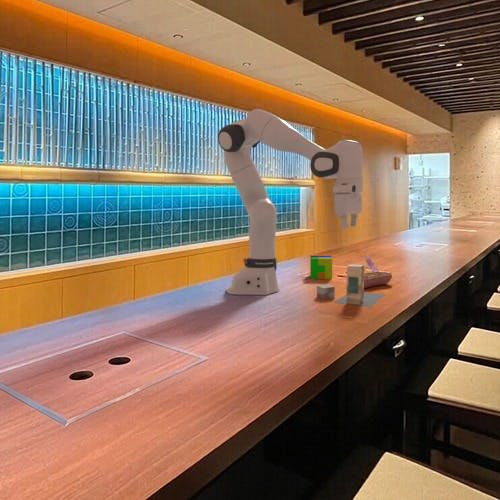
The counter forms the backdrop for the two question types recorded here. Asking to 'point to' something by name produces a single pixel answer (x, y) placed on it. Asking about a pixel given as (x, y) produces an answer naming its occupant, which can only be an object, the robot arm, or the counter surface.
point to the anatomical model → (376, 278)
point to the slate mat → (368, 299)
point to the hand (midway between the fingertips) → (349, 227)
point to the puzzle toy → (321, 267)
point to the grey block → (325, 291)
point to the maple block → (355, 284)
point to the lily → (370, 264)
